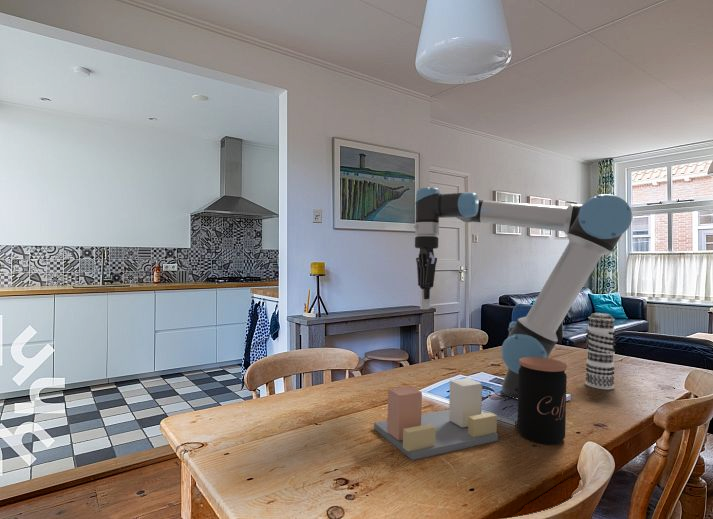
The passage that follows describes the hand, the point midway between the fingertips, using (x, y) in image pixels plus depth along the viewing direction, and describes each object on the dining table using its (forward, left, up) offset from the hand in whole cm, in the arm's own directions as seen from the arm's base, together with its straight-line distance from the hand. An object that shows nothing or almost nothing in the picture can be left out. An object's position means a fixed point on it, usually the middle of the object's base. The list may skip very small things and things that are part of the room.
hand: (424, 308), depth 130 cm
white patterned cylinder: (-64, +2, -27) cm, 69 cm away
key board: (+9, +32, -26) cm, 42 cm away
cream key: (0, +30, -25) cm, 39 cm away
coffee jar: (-17, +36, -27) cm, 48 cm away
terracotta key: (+17, +35, -25) cm, 46 cm away
